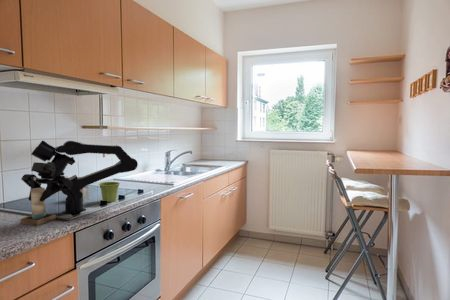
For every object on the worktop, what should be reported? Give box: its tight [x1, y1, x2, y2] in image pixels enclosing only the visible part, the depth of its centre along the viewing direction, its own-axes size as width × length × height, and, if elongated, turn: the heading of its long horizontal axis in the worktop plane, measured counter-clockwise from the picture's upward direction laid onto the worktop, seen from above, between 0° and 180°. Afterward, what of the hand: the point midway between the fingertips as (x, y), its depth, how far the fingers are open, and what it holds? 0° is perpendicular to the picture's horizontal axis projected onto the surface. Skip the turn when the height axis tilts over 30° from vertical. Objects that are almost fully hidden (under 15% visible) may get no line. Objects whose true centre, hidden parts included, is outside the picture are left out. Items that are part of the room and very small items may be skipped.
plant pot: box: [98, 181, 120, 203], centre depth 142 cm, size 9×9×9 cm
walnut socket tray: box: [19, 213, 57, 227], centre depth 110 cm, size 8×8×2 cm
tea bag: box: [81, 185, 90, 202], centre depth 144 cm, size 4×7×10 cm, turn 74°
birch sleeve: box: [30, 187, 47, 220], centre depth 110 cm, size 4×4×11 cm
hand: (35, 200), depth 108 cm, fingers closed on birch sleeve, 4 cm apart
